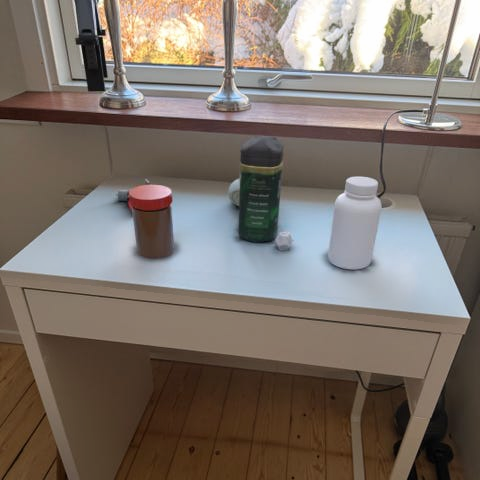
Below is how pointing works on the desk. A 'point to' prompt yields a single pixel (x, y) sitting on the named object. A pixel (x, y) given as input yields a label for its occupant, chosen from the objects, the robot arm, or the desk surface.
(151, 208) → the lid
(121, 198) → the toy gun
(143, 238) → the jam jar
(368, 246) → the pill bottle
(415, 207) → the desk surface
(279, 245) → the game die
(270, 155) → the coffee jar
